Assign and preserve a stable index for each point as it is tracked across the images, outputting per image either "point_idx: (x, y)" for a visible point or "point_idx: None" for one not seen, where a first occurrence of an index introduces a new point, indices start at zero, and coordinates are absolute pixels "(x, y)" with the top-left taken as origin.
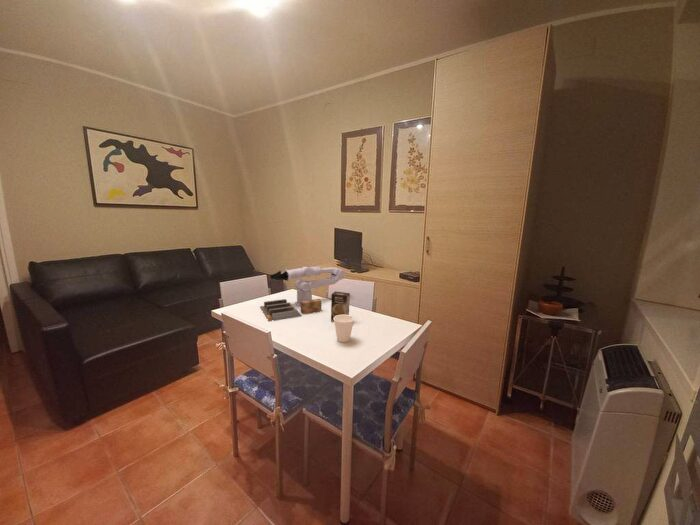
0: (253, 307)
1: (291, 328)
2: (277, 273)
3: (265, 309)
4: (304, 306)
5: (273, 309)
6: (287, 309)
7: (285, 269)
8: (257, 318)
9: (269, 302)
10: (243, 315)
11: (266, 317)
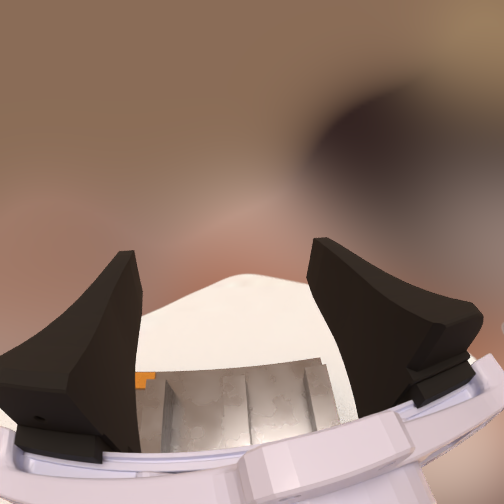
0: (325, 331)
1: (3, 419)
2: (376, 301)
3: (255, 383)
4: None
5: (151, 399)
6: None
7: (328, 438)
8: (157, 341)
9: (310, 397)
10: (223, 297)
11: (138, 372)
